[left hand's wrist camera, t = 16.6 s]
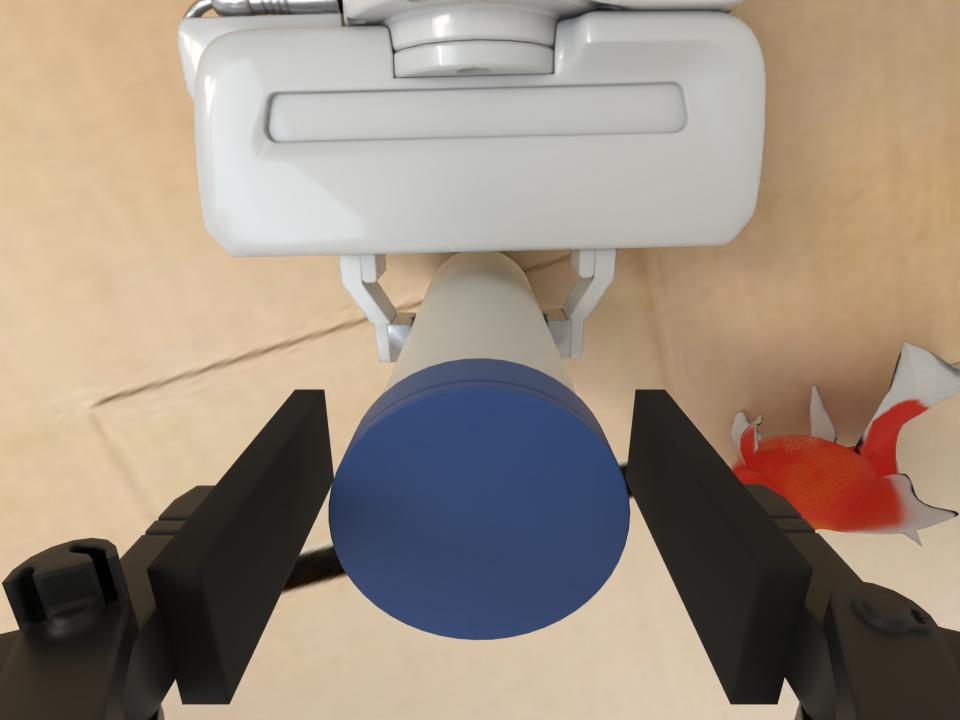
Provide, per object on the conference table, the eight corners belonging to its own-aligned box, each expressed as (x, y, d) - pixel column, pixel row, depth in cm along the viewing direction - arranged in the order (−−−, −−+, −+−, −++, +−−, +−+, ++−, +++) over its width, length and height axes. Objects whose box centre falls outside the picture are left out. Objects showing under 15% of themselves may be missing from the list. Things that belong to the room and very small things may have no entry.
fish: (678, 358, 24) (905, 517, 17) (891, 259, 29) (1134, 351, 22) (650, 501, 31) (805, 658, 24) (827, 401, 36) (999, 506, 29)
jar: (517, 359, 30) (569, 628, 12) (418, 338, 29) (331, 586, 12) (543, 261, 28) (647, 416, 10) (438, 237, 27) (367, 358, 10)
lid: (588, 329, 11) (606, 356, 9) (627, 560, 13) (648, 613, 11) (310, 390, 11) (284, 425, 10) (390, 604, 13) (378, 661, 12)
